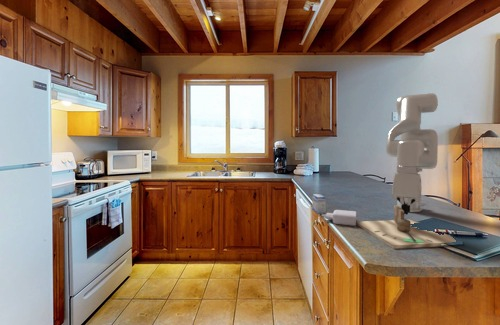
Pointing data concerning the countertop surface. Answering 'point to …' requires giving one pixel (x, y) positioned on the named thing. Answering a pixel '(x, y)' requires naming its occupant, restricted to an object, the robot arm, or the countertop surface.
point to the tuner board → (403, 235)
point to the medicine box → (318, 204)
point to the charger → (342, 217)
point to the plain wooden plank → (401, 221)
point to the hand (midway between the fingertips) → (405, 213)
